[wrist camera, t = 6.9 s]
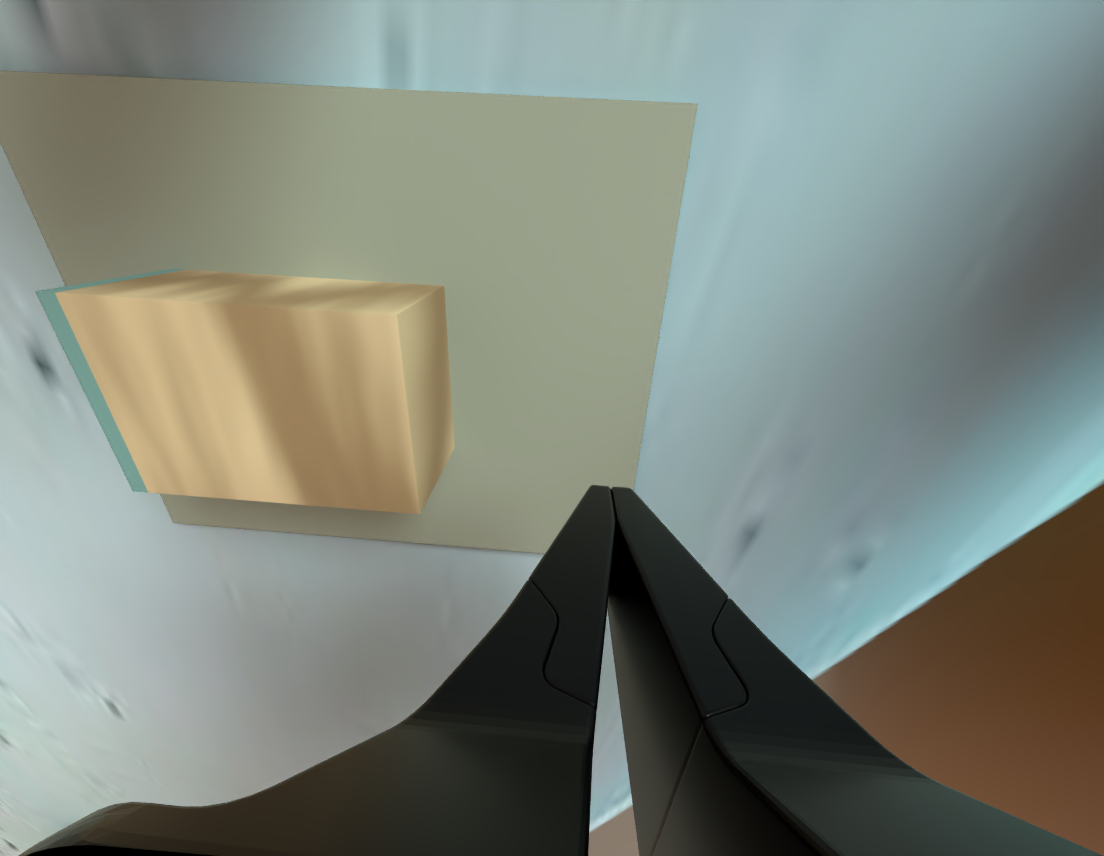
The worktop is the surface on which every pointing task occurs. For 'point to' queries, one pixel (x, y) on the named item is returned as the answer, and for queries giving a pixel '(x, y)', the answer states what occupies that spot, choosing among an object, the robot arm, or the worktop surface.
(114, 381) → the beech block
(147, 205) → the rubber mat
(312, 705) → the worktop surface
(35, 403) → the worktop surface
